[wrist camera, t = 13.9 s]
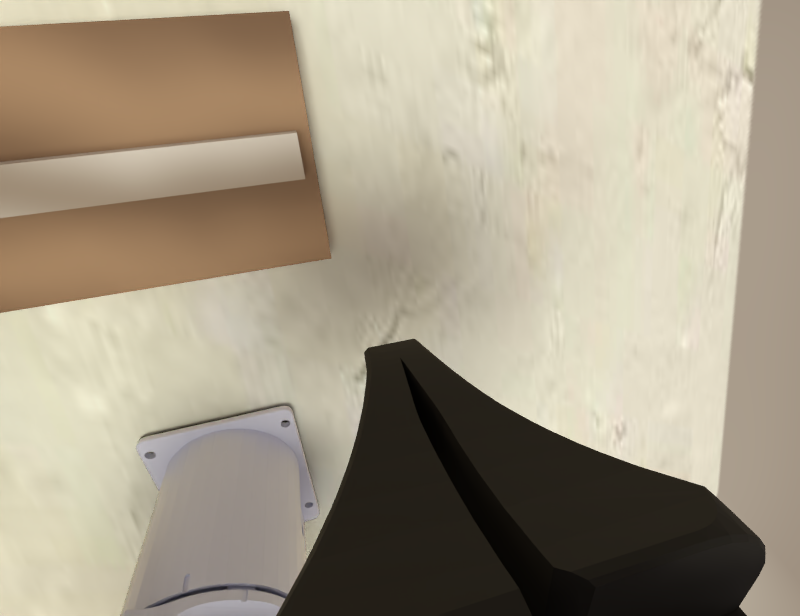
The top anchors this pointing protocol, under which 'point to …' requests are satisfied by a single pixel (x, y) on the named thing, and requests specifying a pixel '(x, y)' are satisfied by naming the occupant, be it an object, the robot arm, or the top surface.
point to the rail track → (152, 155)
